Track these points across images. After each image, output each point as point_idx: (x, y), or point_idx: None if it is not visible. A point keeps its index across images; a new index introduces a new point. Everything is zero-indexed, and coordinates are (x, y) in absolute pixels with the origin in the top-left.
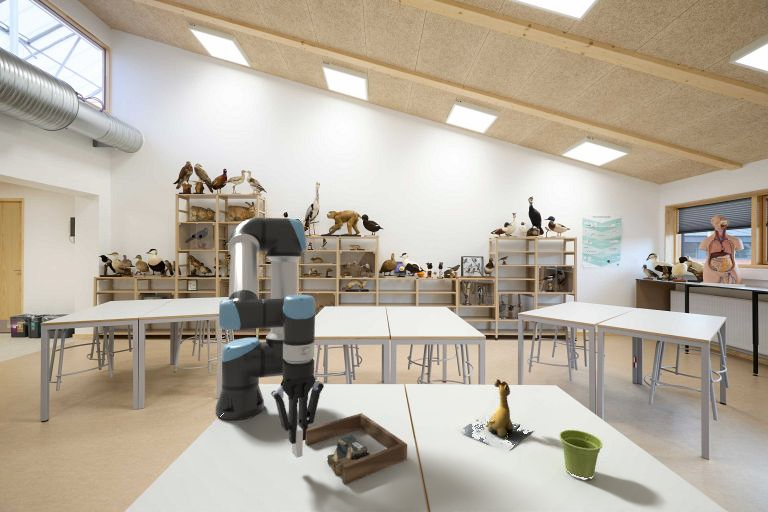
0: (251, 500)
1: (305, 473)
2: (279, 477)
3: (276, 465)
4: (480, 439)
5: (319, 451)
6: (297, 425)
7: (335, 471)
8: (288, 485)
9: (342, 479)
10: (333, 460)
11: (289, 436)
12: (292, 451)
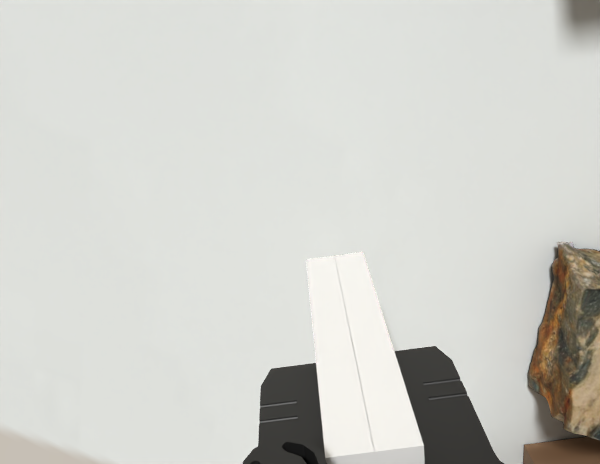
0: (8, 397)
1: None
2: (193, 262)
3: (195, 102)
4: None
5: (591, 52)
6: (408, 444)
7: (538, 383)
8: (233, 358)
9: (530, 456)
10: (574, 377)
11: (261, 428)
12: (307, 266)
